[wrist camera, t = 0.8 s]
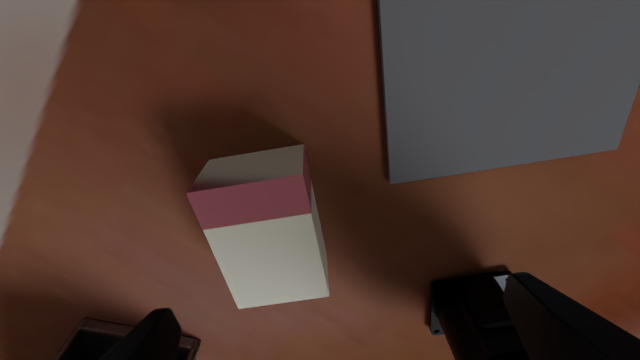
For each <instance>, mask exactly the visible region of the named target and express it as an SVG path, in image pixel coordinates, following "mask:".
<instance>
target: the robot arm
mask: <svg viewBox="0 0 640 360" xmlns="http://www.w3.org/2000/svg"><path fill="white" fill-rule="evenodd" d="M429 329H430V331H431V334H432V335H441V334H445V337H446V339H447V341H448V344H449V346H450V349H451V351H452V353H453V356H454V358H455V360H640V339H638V338H637V337H635V336H633V335H632V334H630V333H628V332H627V331H625V330H623V329H622V328H620V327H618V326H617V325H615V324H613V323H612V322H610V321H608V320H606V319H605V318H603V317H601V316H600V315H598V314H596V313H595V312H593V311H591V310H590V309H588V308H586V307H585V306H583V305H581V304H580V303H578V302H576V301H575V300H573V299H571V298H570V297H568V296H566V295H565V294H563V293H561V292H560V291H558V290H556V289H554V288H553V287H551V286H549V285H548V284H546V283H544V282H543V281H541V280H539V279H538V278H536V277H534V276H533V275H531V274H529V273H527V272H519V273H512V272H511V271H502V272H495V273H488V274H480V275H473V276H466V277H459V278H451V279H444V280H437V281H434V282H432V283H431V284H430V322H429ZM181 333H182V331H181V326H180V324H179V322H178V320H177V318H176V316H175V314H174V312H173V310H172V309H170V308H160V309H155V310H153V311H152V312H150V313H149V314H148V315H147V316H146V317H145V318H144V319H143V320H142V321H141V322H139V323H138V324H137V325H136V326H135V327H134V328H133V329H132V330H131V331H130V332H128V333H127V334H126V335H125V336H124V337H123V338H122V339H121V340H120V341H119V342H118V343H116V344H115V345H114V346H113V347H112V348H111V349H110V350H109V351H108V352H107V353H105V354H104V355H103V356H102V357H101V358H100V359H99V360H176V356H177V352H178V348H179V343H180V339H181Z"/></svg>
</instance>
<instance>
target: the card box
mask: <svg viewBox="0 0 640 360" xmlns="http://www.w3.org/2000/svg"><path fill="white" fill-rule="evenodd" d="M186 195H187V197H188V199H189V202H190V204H191V206H192V208H193V210H194V213H195V215H196V217H197V219H198V222H199V224H200V226H201V228H202V230H203V231H204V234H205V236H206V238H207V240H208V242H209V245H210V247H211V249H212V251H213V254H214V256H215V258H216V260H217V262H218V265H219V267H220V269H221V271H222V274H223V276H224V278H225V280H226V282H227V285H228V287H229V289H230V291H231V294H232V296H233V298H234V300H235V302H236V305H237V307H238V309H242V308H249V307H257V306H264V305H271V304H278V303H286V302H293V301H300V300H307V299H315V298H322V297H329V283H328V269H327V254H326V249H325V244H324V239H323V234H322V230H321V225H320V220H319V215H318V210H317V205H316V200H315V196H314V191H313V186H312V181H311V175H310V170H309V165H308V160H307V155H306V150H305V145H304V144H301V145H295V146H289V147H283V148H277V149H271V150H265V151H259V152H253V153H247V154H241V155H235V156H229V157H223V158H217V159H211V160H208V162H207V163H206V165H205V166H204V167H203V169H202V170H201V172H200V173H199V175H198V176H197V178H196V179H195V180H194V182H193V183H192V185H191V186H190V188H189V189H188V191H187V192H186Z"/></svg>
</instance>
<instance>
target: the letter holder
mask: <svg viewBox="0 0 640 360" xmlns="http://www.w3.org/2000/svg"><path fill="white" fill-rule="evenodd" d="M133 328H134V326H129V325H123V324H118V323H112V322H107V321H101V320H96V319H90V318H83V319H82V320H81V321H80V323H79V324H78V325H77V326H76V328H75V330H74V331H73V332H72V333H71V335H70V336H69V338H68V339H67V340H66V342H65V343H64V345H63V346H62V347H61V349H60V350H59V352H58V353H57V355H56V356H55V358H54V359H53V360H99V359H100V358H101V357H102V356H103V355H104V354H105V353H107V352H108V351H109V350H110V349H111V348H112V347H113V346H114V345H115V344H116V343H118V342H119V341H120V340H121V339H122V338H123V337H124V336H125V335H126V334H127V333H128V332H130V331H131V330H132V329H133ZM200 343H201V340H200V339H198V338H193V337H188V336H183V335H181V339H180V343H179V348H178V352H177V356H176V360H195V359H196V355H197V352H198V350H199V347H200Z"/></svg>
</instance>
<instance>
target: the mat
mask: <svg viewBox="0 0 640 360" xmlns="http://www.w3.org/2000/svg"><path fill="white" fill-rule="evenodd" d="M377 1H378V17H379V32H380V48H381V64H382V80H383V96H384V112H385V128H386V144H387V160H388V176H389V182H390V184H398V183H404V182H411V181H417V180H423V179H430V178H436V177H443V176H449V175H455V174H462V173H468V172H475V171H481V170H487V169H494V168H500V167H507V166H513V165H519V164H526V163H532V162H539V161H545V160H551V159H558V158H564V157H571V156H577V155H583V154H590V153H596V152H603V151H609V150H615V149H618V146H619V143H620V140H621V137H622V134H623V131H624V128H625V125H626V122H627V119H628V116H629V113H630V110H631V108H632V105H633V102H634V99H635V96H636V93H637V90H638V87H639V84H640V0H377Z"/></svg>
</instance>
